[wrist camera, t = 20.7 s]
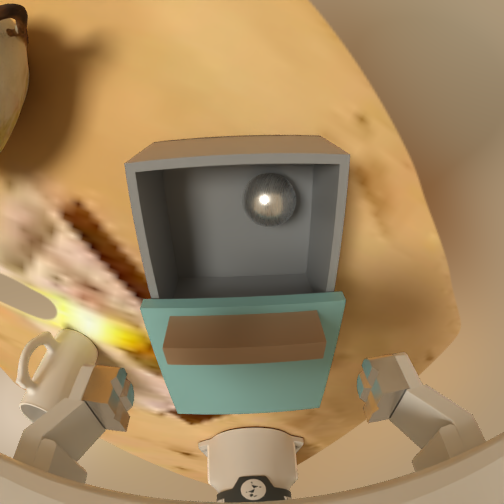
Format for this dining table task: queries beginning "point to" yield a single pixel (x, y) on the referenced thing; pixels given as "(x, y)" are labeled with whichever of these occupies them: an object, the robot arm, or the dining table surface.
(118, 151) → the dining table surface
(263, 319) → the lid
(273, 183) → the steel ball
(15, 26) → the sugar bowl
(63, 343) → the mug
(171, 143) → the bin
